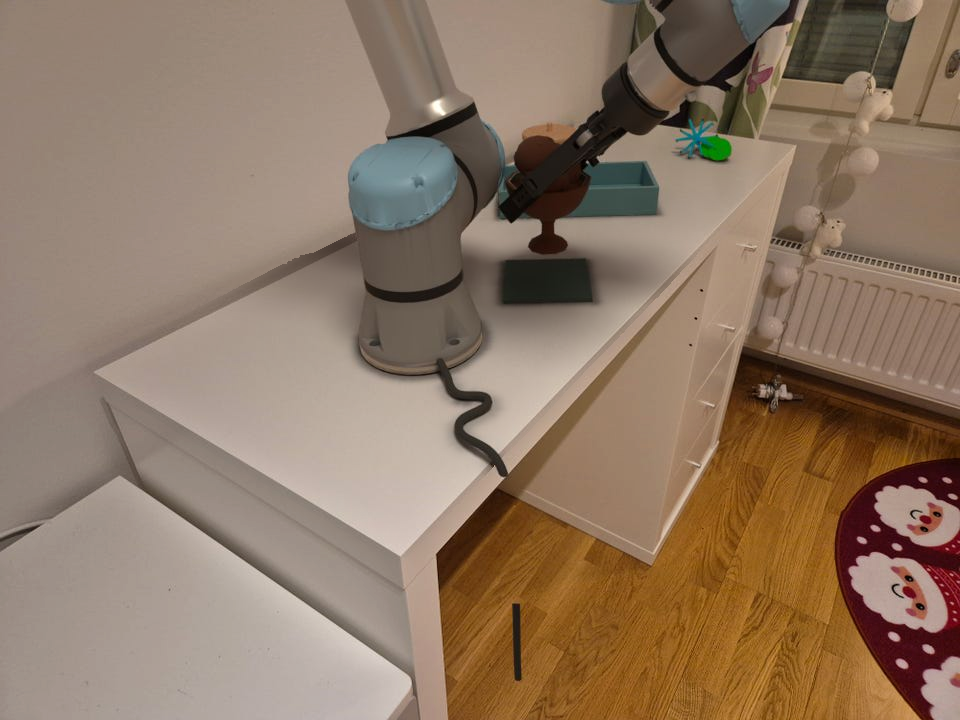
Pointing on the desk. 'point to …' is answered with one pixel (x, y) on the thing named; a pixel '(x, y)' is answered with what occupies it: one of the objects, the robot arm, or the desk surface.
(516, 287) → the mat
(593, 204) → the divided tray
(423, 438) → the desk surface
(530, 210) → the ice cream bowl
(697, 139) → the stick construction toy
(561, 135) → the trinket box
